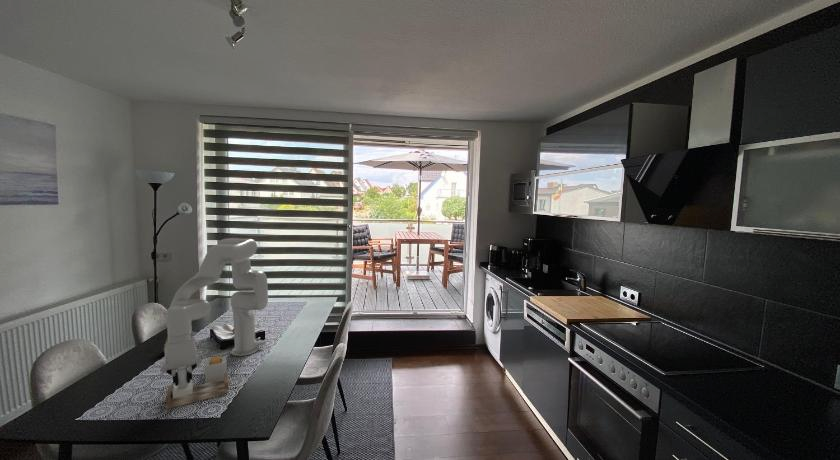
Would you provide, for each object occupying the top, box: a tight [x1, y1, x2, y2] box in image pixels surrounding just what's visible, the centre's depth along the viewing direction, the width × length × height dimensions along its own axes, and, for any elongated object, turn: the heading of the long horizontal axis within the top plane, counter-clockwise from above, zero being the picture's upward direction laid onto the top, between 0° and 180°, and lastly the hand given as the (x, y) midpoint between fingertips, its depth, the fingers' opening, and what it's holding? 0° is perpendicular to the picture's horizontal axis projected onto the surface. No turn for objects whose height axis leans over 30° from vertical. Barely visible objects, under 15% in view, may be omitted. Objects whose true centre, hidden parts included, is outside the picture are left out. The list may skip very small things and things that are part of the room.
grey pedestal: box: [173, 366, 194, 398], centre depth 128 cm, size 6×7×11 cm
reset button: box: [210, 355, 221, 365], centre depth 142 cm, size 4×4×3 cm
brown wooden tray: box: [165, 372, 229, 410], centre depth 131 cm, size 20×9×4 cm, turn 122°
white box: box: [204, 355, 228, 384], centre depth 142 cm, size 8×7×8 cm
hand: (182, 382), depth 128 cm, fingers closed on grey pedestal, 3 cm apart
